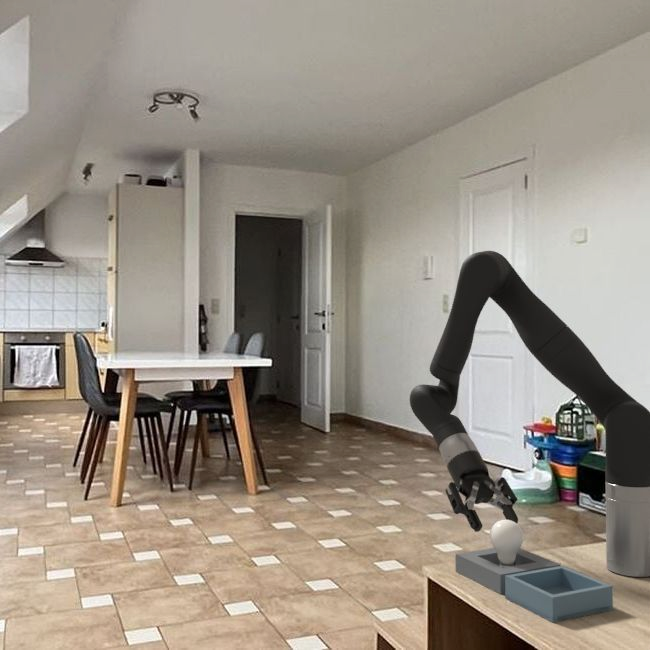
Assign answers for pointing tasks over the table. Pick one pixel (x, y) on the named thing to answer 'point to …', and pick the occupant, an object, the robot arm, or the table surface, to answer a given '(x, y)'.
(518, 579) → the parts tray
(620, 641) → the table surface
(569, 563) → the table surface
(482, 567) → the socket block
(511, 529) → the lightbulb
